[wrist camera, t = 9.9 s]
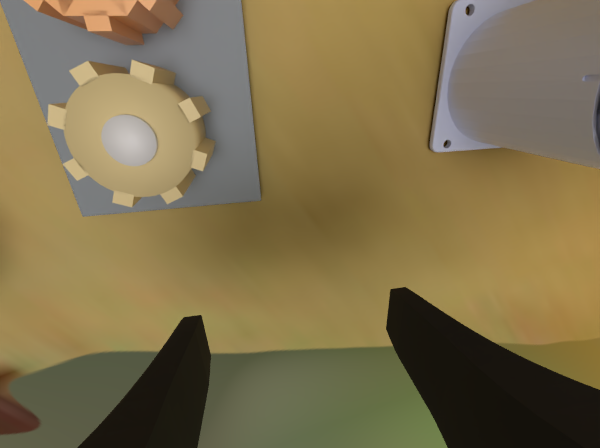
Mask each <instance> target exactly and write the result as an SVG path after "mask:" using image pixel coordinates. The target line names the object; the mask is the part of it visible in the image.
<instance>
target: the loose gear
mask: <svg viewBox="0 0 600 448" xmlns="http://www.w3.org/2000/svg"><path fill="white" fill-rule="evenodd" d="M24 1H25V2H26V3H28V4H29V5H30V6H31V7H33V8H34V9H35V10H36V11H38V12H41V13H43V14H46V15H49V16H51V17H54V18H57V19H59V20H62V21H65V22H67V23H70V24H73V25H75V26H78V27H81V28H83V29H86V30H88V31H89V32H92V33H94V34H97V35H100V36H102V37H105V38H108V39H111V40H113V41H116V42H119V43H121V44H124V45H144V41H143V36H142V34H151V33H157V32H158V30H159V29H160V27H161V26H162V25H163V23H165V24H166V25H168V26H169V27H170V28H171V29H174V28H175V26H176V25H177V24H178V22H179V21H180V19H181V18H182V16H183V14H182V13H181V12H180V11H179V10H178V9H177V7H176V6H175V5H176V4H177V2H178V1H179V0H24Z"/></svg>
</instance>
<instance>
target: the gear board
mask: <svg viewBox="0 0 600 448" xmlns="http://www.w3.org/2000/svg"><path fill="white" fill-rule="evenodd" d="M0 2H1V5H2V8H3V10H4V13H5V15H6V18H7V21H8V23H9V26H10V28H11V31H12V34H13V36H14V39H15V42H16V44H17V47H18V49H19V52H20V55H21V57H22V60H23V62H24V65H25V68H26V70H27V73H28V75H29V78H30V81H31V83H32V86H33V88H34V91H35V94H36V96H37V99H38V101H39V104H40V107H41V109H42V112H43V114H44V117H45V120H46V122H47V125H48V127H49V130H50V133H51V135H52V138H53V140H54V143H55V146H56V148H57V151H58V154H59V156H60V159H61V161H62V164H63V167H64V169H65V172H66V174H67V177H68V180H69V182H70V185H71V187H72V190H73V193H74V195H75V198H76V200H77V203H78V206H79V208H80V211H81V213H82V216H83V217H84V216H95V215H106V214H117V213H128V212H139V211H150V210H161V209H172V208H183V207H194V206H205V205H216V204H228V203H239V202H250V201H261V193H260V183H259V174H258V164H257V154H256V144H255V134H254V124H253V114H252V104H251V94H250V84H249V74H248V64H247V54H246V44H245V35H244V25H243V15H242V5H241V0H179V1H178V2H177V4H176V5H175V6H176V7H177V9H178V10H179V11H180V12H181V13H182V14H183V16H182V18H181V19H180V21H179V22H178V24H177V25H176V26H175V28H174V29H171V28H170V27H169V26H168V25H166V24H165V23H163V25H162V26H161V27H160V29H159V30H158V32H157V33H151V34H142V36H143V41H144V45H124V44H121V43H119V42H116V41H113V40H111V39H108V38H105V37H102V36H100V35H97V34H94V33H92V32H89V31H88V30H86V29H83V28H81V27H78V26H75V25H73V24H70V23H67V22H65V21H62V20H59V19H57V18H54V17H51V16H49V15H46V14H43V13H41V12H38V11H36V10H35V9H34V8H33V7H31V6H30V5H29V4H28V3H26V2H25V1H24V0H0Z"/></svg>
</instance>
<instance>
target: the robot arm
mask: <svg viewBox="0 0 600 448" xmlns="http://www.w3.org/2000/svg"><path fill="white" fill-rule="evenodd" d="M467 6H468V7H469V9H470V12H469V15H466V11H465V10H466V7H467ZM446 140H447V145H446V146H445V147H444V146H443V144H444V142H445V141H446ZM503 147H504V148H508V149H513V150H517V151H522V152H526V153H530V154H535V155H539V156H544V157H548V158H553V159H557V160H562V161H566V162H570V163H575V164H579V165H584V166H588V167H593V168H597V169H600V0H457V1H455V2H454V3H453V4H452V5H451V7H450V9H449V13H448V20H447V27H446V34H445V41H444V48H443V55H442V62H441V69H440V75H439V82H438V89H437V96H436V103H435V110H434V117H433V124H432V131H431V138H430V149H431V150H432V151H434V152H450V151H463V150H477V149H490V148H503ZM386 330H387V332H388V335H389V337H390V339H391V342H392V344H393V346H394V349H395V351H396V353H397V355H398V357H399V359H400V360H401V362H402V364H403V366H404V367H405V369H406V371H407V373H408V374H409V376H410V378H411V379H412V381H413V383H414V385H415V386H416V388H417V390H418V391H419V393H420V395H421V397H422V398H423V400H424V402H425V404H426V405H427V407H428V409H429V410H430V412H431V414H432V416H433V418H434V420H435V422H436V423H437V426H438V428H439V430H440V432H441V434H442V436H443V438H444V441H445V442H446V445H447V447H448V448H600V390H598V389H596V388H593V387H591V386H588V385H585V384H583V383H580V382H578V381H575V380H573V379H570V378H568V377H565V376H563V375H561V374H558V373H556V372H554V371H551V370H549V369H547V368H545V367H542V366H540V365H538V364H536V363H533V362H531V361H529V360H527V359H525V358H523V357H521V356H519V355H517V354H515V353H513V352H511V351H509V350H507V349H505V348H503V347H501V346H499V345H497V344H496V343H494V342H492V341H490V340H488V339H487V338H485V337H483V336H481V335H480V334H478V333H476V332H474V331H473V330H471V329H469V328H468V327H466V326H464V325H463V324H461V323H460V322H458V321H456V320H455V319H453V318H452V317H450V316H449V315H447V314H445V313H444V312H442V311H441V310H439V309H438V308H436V307H435V306H433V305H432V304H430V303H429V302H427V301H426V300H424V299H423V298H421V297H420V296H418V295H417V294H415V293H414V292H412V291H411V290H409V289H408V288H406V287H403V288H396V289H391V290H390V299H389V308H388V317H387V326H386ZM210 360H211V354H210V350H209V346H208V341H207V337H206V333H205V329H204V324H203V320H202V316H201V315H198V316H190V317H184V318H183V319H182V320H181V321H180V323H179V324H178V326H177V327H176V329H175V330H174V332H173V333H172V335H171V336H170V338H169V339H168V340H167V342H166V343H165V345H164V346H163V348H162V349H161V350H160V352H159V353H158V354H157V356H156V357H155V359H154V360H153V361H152V363H151V364H150V365H149V367H148V368H147V369H146V371H145V372H144V373H143V374H142V376H141V377H140V378H139V379H138V381H137V382H136V383H135V384H134V386H133V387H132V388H131V390H130V391H129V392H128V393H127V394H126V396H125V397H124V398H123V399H122V400H121V401H120V403H119V404H118V405H117V406H116V407H115V408H114V410H113V411H112V412H111V413H110V414H109V415H108V416H107V417H106V418H105V420H104V421H103V422H102V423H101V424H100V425H99V426H98V427H97V428H96V429H95V430H94V431H93V432H92V433H91V434H90V436H89V437H87V438H86V440H85V441H83V443H82V444H81V445H80V446H79V447H78V448H197V446H198V441H199V435H200V430H201V425H202V419H203V414H204V409H205V403H206V397H207V392H208V386H209V376H210Z"/></svg>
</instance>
